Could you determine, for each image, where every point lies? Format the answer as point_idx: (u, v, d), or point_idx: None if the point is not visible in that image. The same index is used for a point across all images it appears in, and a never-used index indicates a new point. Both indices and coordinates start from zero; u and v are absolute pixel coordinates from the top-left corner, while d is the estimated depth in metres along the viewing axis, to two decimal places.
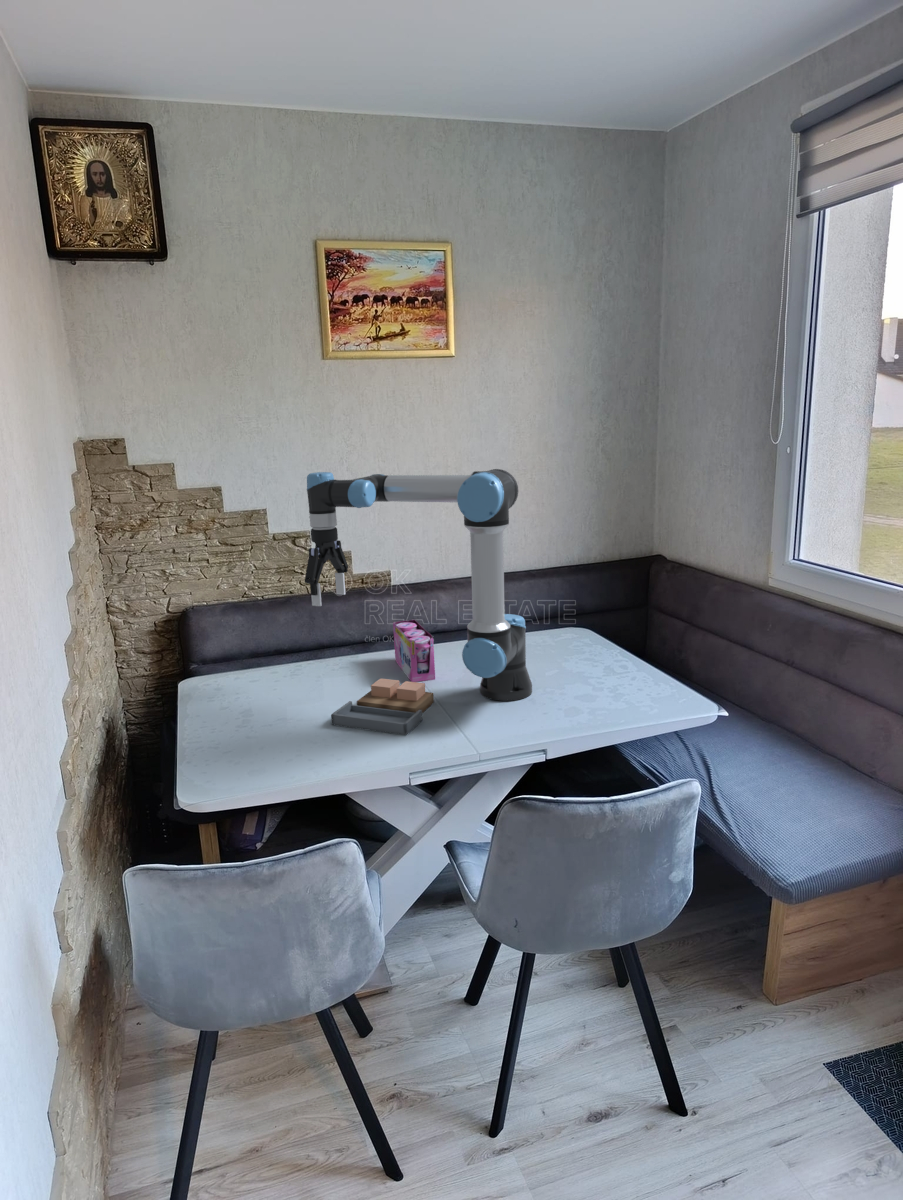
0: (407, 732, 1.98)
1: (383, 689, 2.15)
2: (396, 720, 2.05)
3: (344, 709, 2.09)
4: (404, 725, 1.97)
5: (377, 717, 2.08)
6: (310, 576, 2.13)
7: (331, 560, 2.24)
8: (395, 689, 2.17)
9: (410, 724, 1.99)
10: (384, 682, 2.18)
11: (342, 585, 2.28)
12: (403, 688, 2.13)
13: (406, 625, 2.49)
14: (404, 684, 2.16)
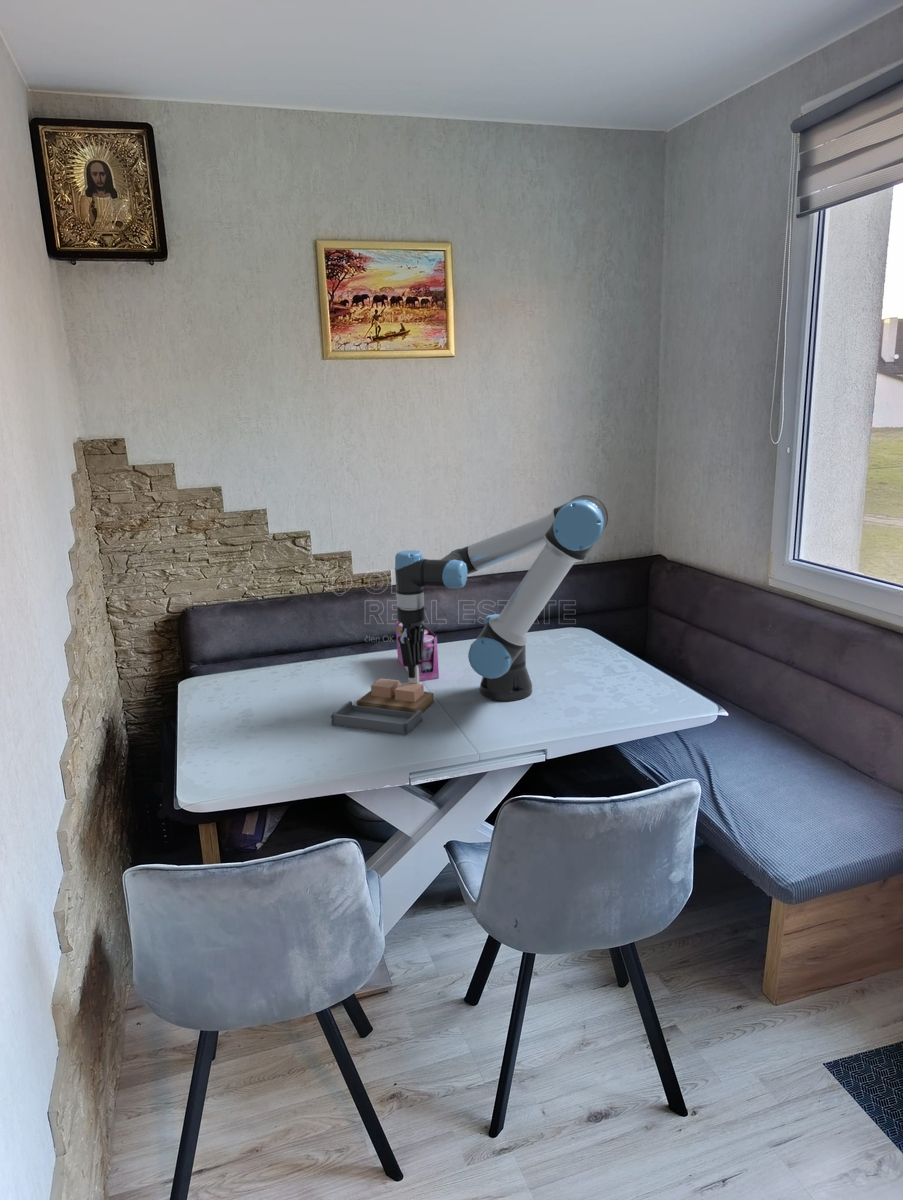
0: (407, 732, 1.98)
1: (383, 689, 2.15)
2: (396, 720, 2.05)
3: (344, 709, 2.09)
4: (404, 725, 1.97)
5: (377, 717, 2.08)
6: (408, 662, 2.12)
7: None
8: None
9: (410, 724, 1.99)
10: (384, 682, 2.18)
11: None
12: (401, 689, 2.12)
13: None
14: (402, 685, 2.15)
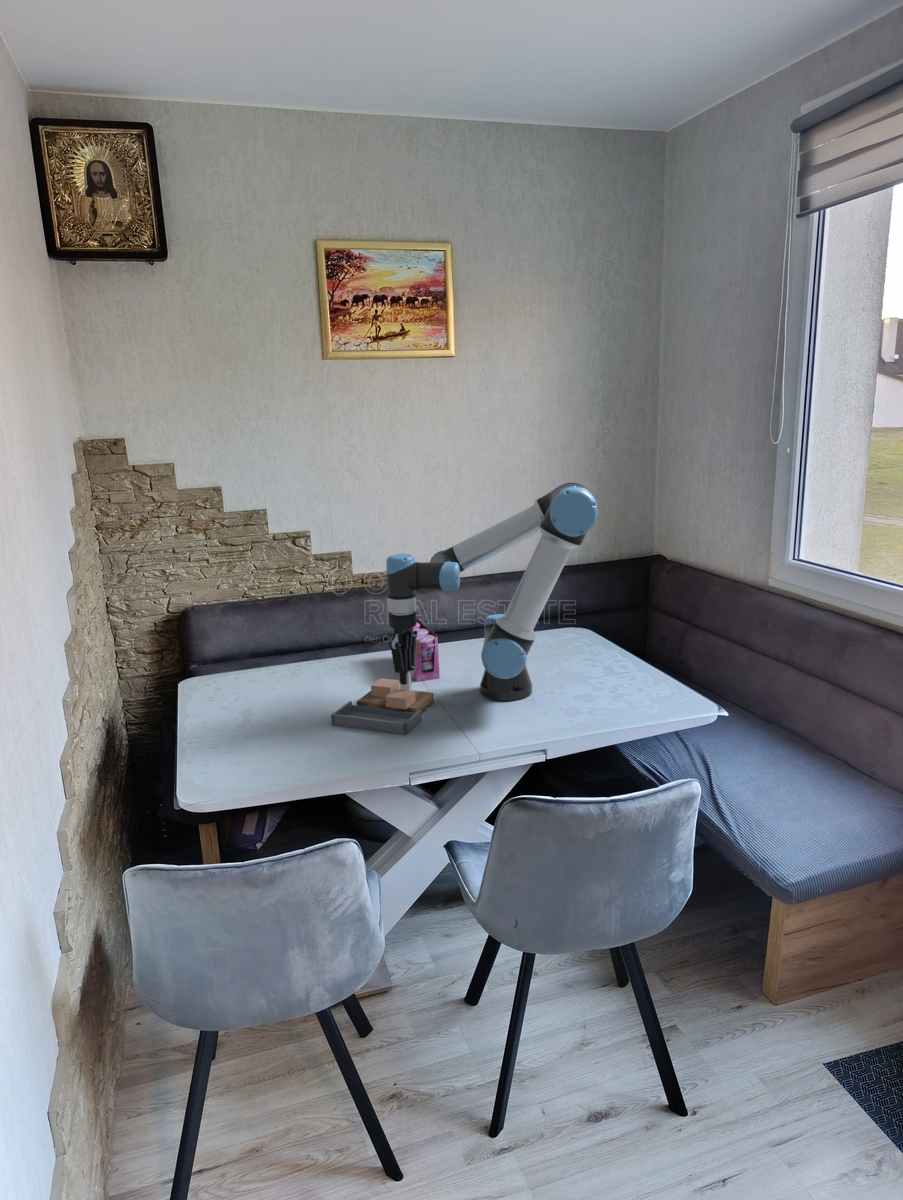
0: (407, 732, 1.98)
1: (383, 689, 2.15)
2: (396, 720, 2.05)
3: (344, 709, 2.09)
4: (404, 725, 1.97)
5: (377, 717, 2.08)
6: (399, 668, 2.07)
7: None
8: None
9: (410, 724, 1.99)
10: (384, 682, 2.18)
11: None
12: (392, 696, 2.08)
13: None
14: (394, 692, 2.10)
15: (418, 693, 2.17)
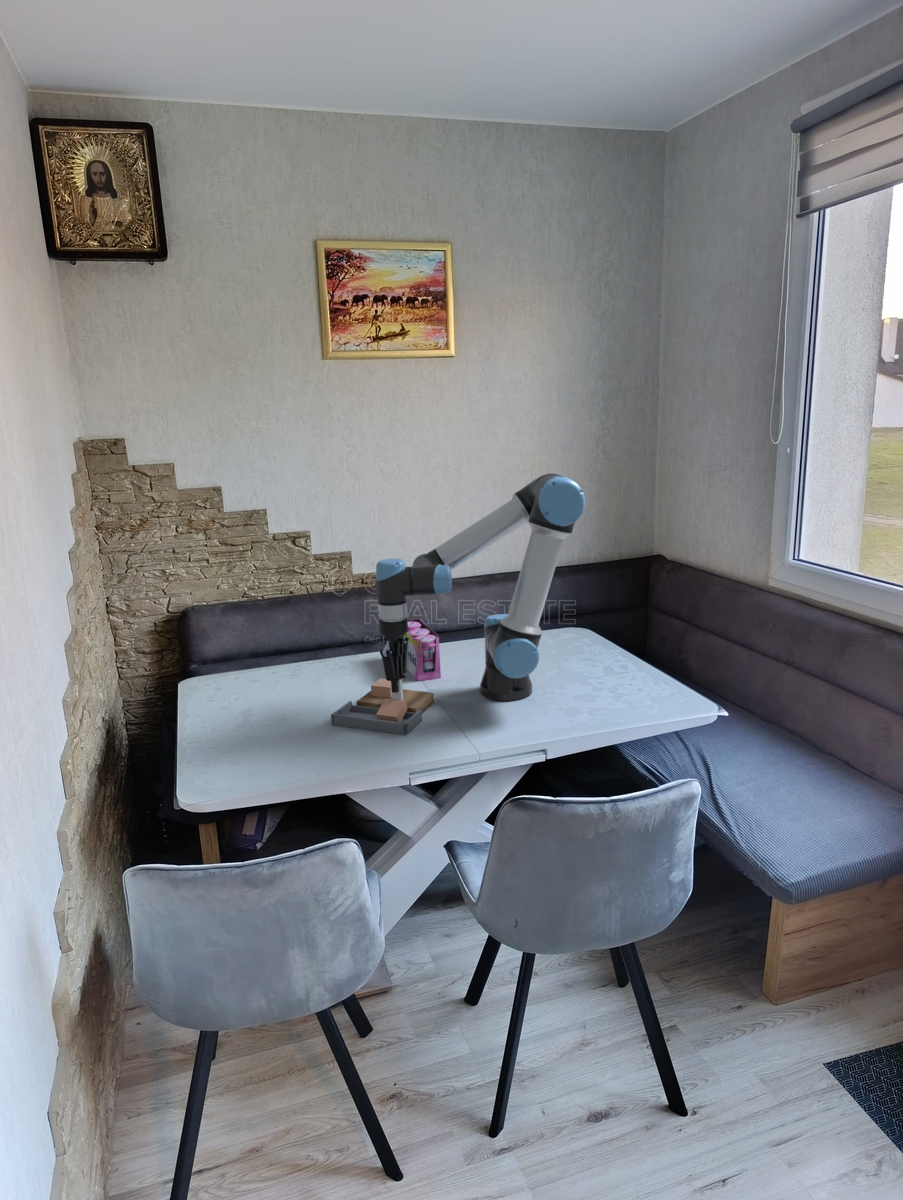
0: (407, 732, 1.98)
1: (383, 689, 2.15)
2: None
3: (344, 709, 2.09)
4: (404, 725, 1.97)
5: None
6: (391, 676, 2.02)
7: None
8: None
9: (410, 724, 1.99)
10: (384, 682, 2.18)
11: None
12: (383, 713, 2.03)
13: (410, 624, 2.50)
14: (384, 705, 2.05)
15: (418, 693, 2.17)
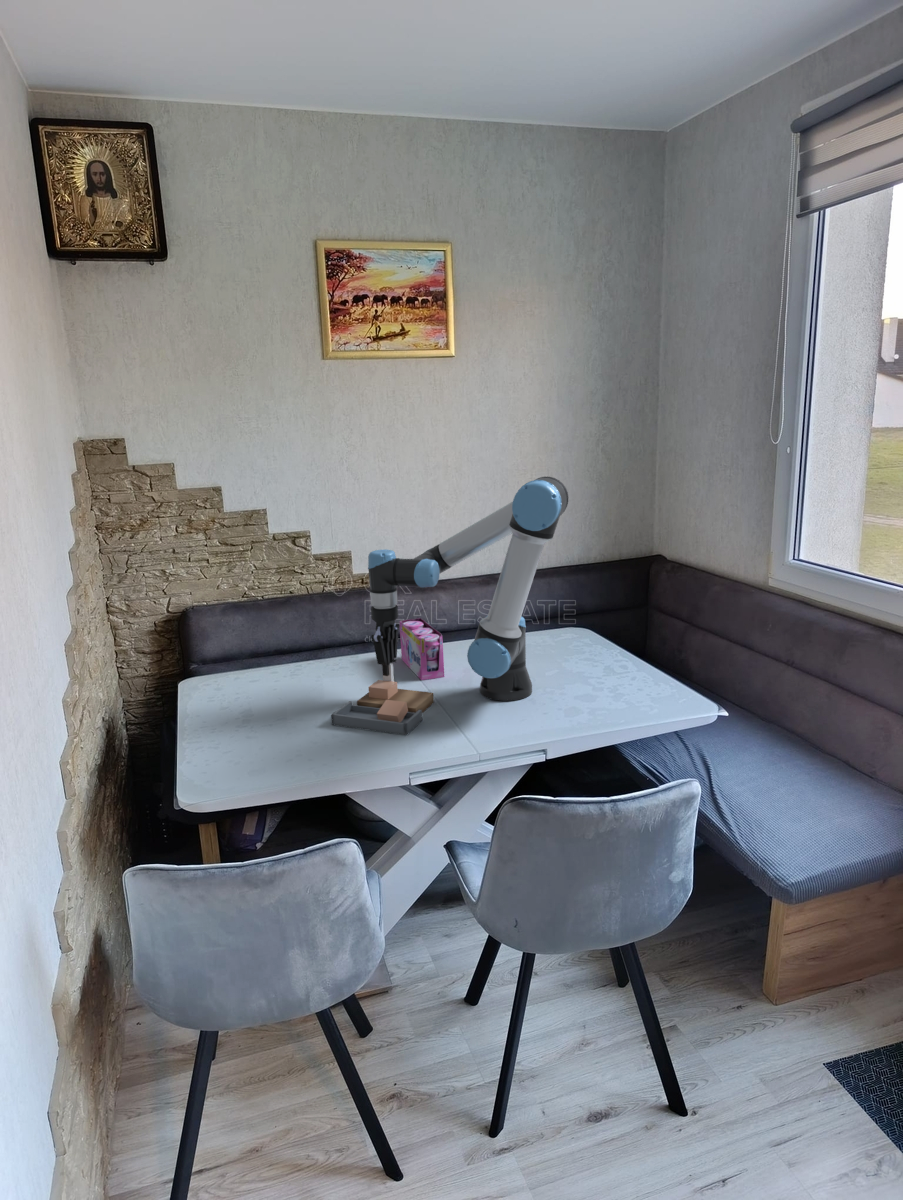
0: (407, 732, 1.98)
1: (381, 690, 2.14)
2: None
3: (344, 709, 2.09)
4: (404, 725, 1.97)
5: (377, 717, 2.08)
6: (382, 660, 2.14)
7: None
8: (393, 691, 2.16)
9: (410, 724, 1.99)
10: (382, 683, 2.17)
11: None
12: (383, 712, 2.03)
13: (412, 624, 2.50)
14: (385, 705, 2.06)
15: (418, 693, 2.17)
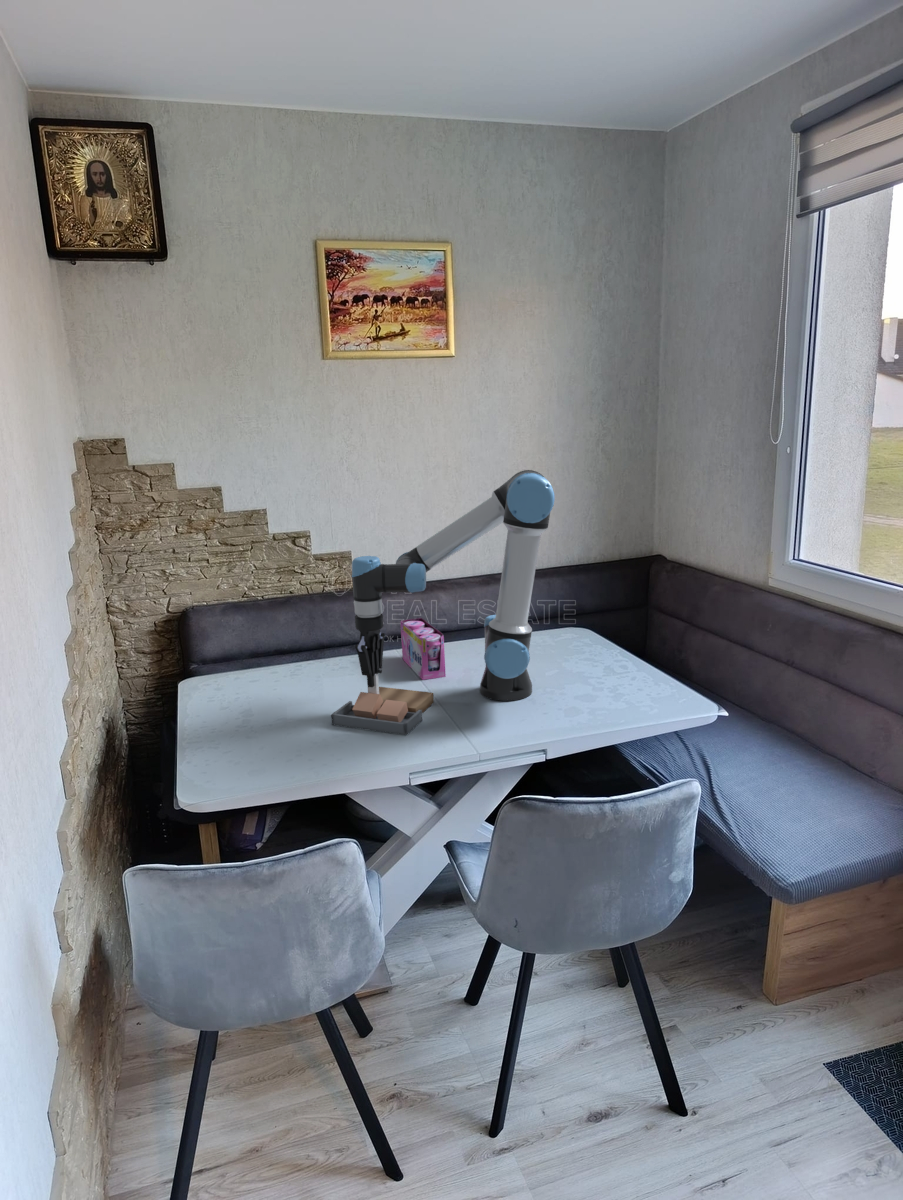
0: (407, 732, 1.98)
1: (366, 712, 2.06)
2: None
3: (344, 709, 2.09)
4: (404, 725, 1.97)
5: (377, 717, 2.08)
6: (366, 671, 2.06)
7: None
8: (378, 706, 2.08)
9: (410, 724, 1.99)
10: (365, 699, 2.09)
11: None
12: (383, 712, 2.03)
13: (413, 624, 2.50)
14: (385, 705, 2.06)
15: (418, 693, 2.17)
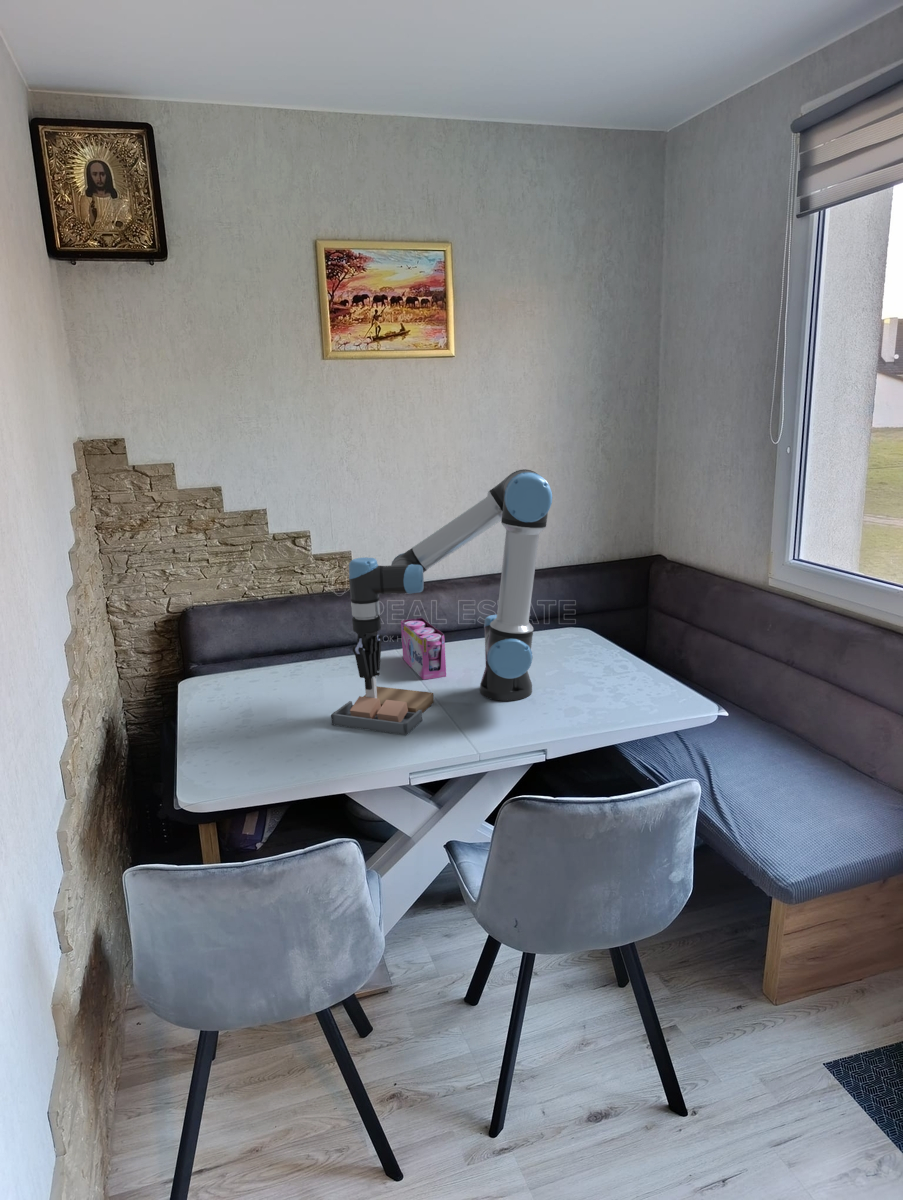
0: (407, 732, 1.98)
1: (363, 714, 2.05)
2: None
3: (344, 709, 2.09)
4: (404, 725, 1.97)
5: (377, 717, 2.08)
6: (364, 673, 2.05)
7: None
8: (376, 710, 2.07)
9: (410, 724, 1.99)
10: (363, 702, 2.08)
11: None
12: (383, 712, 2.03)
13: (414, 624, 2.50)
14: (385, 705, 2.06)
15: (418, 693, 2.17)
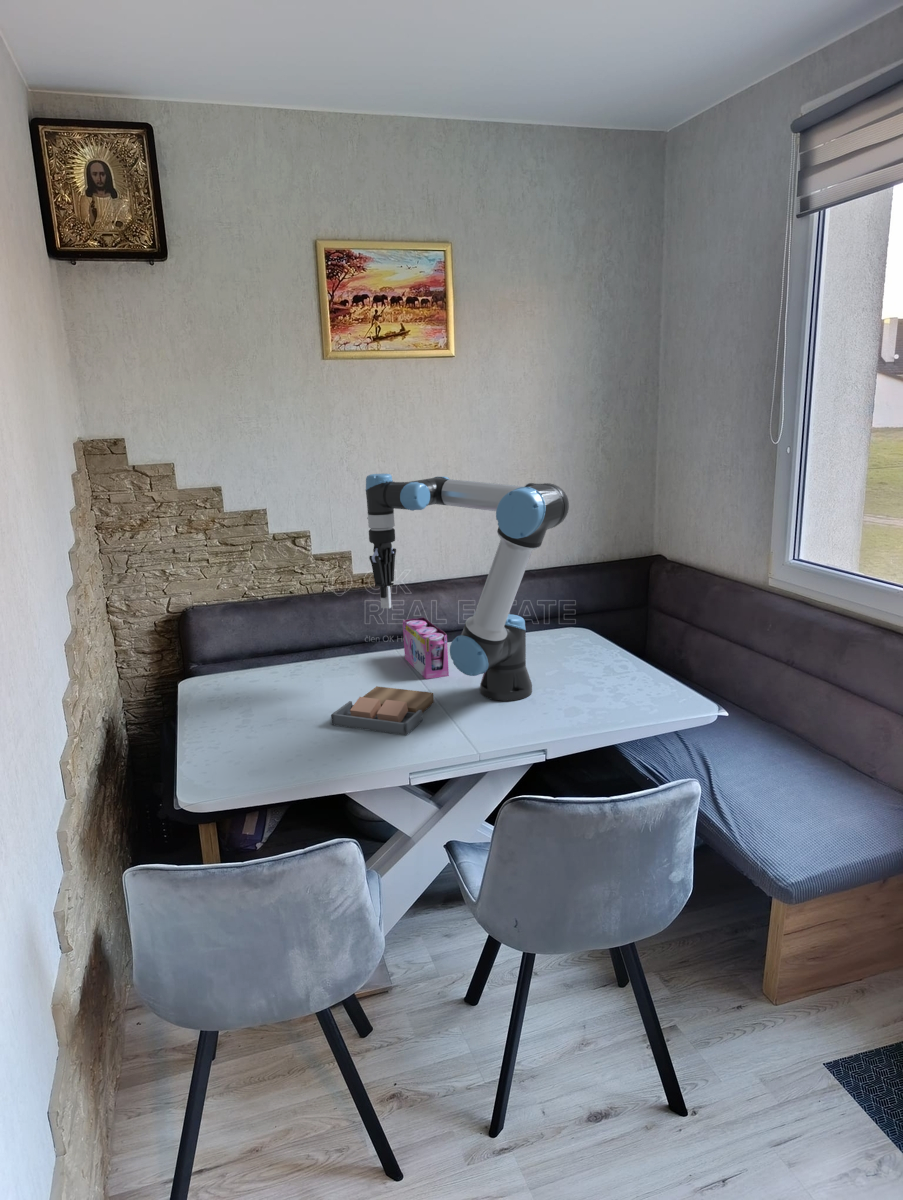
0: (407, 732, 1.98)
1: (363, 714, 2.05)
2: None
3: (344, 709, 2.09)
4: (404, 725, 1.97)
5: (377, 717, 2.08)
6: (379, 581, 2.21)
7: None
8: (376, 710, 2.07)
9: (410, 724, 1.99)
10: (363, 703, 2.08)
11: None
12: (383, 712, 2.03)
13: (416, 623, 2.51)
14: (385, 705, 2.06)
15: (418, 693, 2.17)
